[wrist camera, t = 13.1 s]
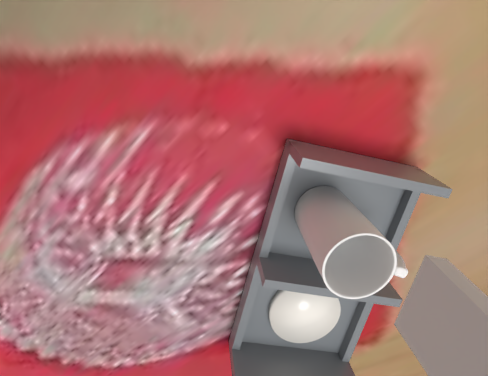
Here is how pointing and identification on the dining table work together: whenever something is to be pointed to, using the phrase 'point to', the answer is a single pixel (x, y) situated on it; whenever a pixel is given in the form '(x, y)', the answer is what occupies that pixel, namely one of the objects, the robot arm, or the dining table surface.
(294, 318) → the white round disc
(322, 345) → the rack
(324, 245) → the mug
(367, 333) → the dining table surface
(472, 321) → the robot arm
